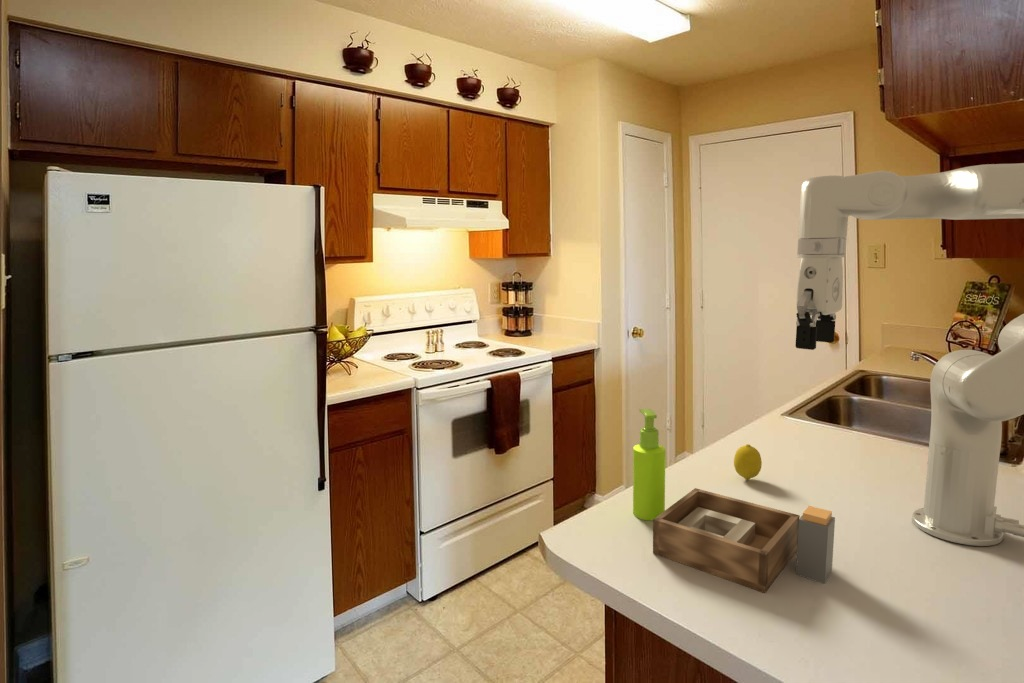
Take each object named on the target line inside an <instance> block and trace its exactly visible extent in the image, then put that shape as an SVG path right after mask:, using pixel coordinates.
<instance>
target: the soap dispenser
mask: <svg viewBox="0 0 1024 683" xmlns="http://www.w3.org/2000/svg"><path fill="white" fill-rule="evenodd" d="M639 413H642V415H643V416H644V426H643V427H642V428H641V429H639V431H640V432H639V444H635V445H634V446H633V450H632V456H633V457H632V463H633V464H632V465H633V466H632V474H633V475H632V489H633V490H632V513H633V515H634V516H635V517H636V518H637V519H639V520H643V521H651V522H652V521H653V519H654V518H656V517H657V516H658V515H660V514H661V513H662V512H664V511H665V510H666V447H664V446H663V445H660V444H659V436H660V434H659V433H660V432H659V429H658V428H656V427H655V419H657V417H658V416H657V414H656V413H655V411H654V410H653V409H651V408H649V409H648V408H644V409H642V408H641V409H639Z"/></svg>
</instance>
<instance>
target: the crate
mask: <svg viewBox="0 0 1024 683" xmlns="http://www.w3.org/2000/svg"><path fill="white" fill-rule="evenodd" d="M800 518H801V516H800V514H796V513H791V512H789V511H784V510H781V509H776V508H773V507H769V506H764V505H761V504H757V503H753V502H750V501H746V500H743V499H742V500H741V499H740V498H739V499H738V498H735V497H732V496H727V495H723V494H719V493H714V492H712V491H707V490H704V489H701V488H697V487H694V488H693V489H692V490H691V491H689V492H688V493H687V494H685V495H684V496H682V497H681V498H680V499H678V500H677V501H676V502H675V503H673V504H672V505H670V506H669V507H668V508H665V511H664V512H662V513H661V514H660V515H658V516H657V517H656V518H654V519H653V522H652V523H653V524H652V554H654V555H656V556H659V557H662V558H666V559H668V560H671V561H673V562H677V563H679V564H682V565H685V566H688V567H691V568H694V569H696V570H700V571H702V572H705V573H708V574H711V575H712V576H716V577H718V578H721V579H724V580H727V581H730V582H732V583H736V584H739V585H741V586H744V587H747V588H749V589H751V590H752V589H753V590H755V591H758V592H760V593H763V594H765V593H766V592H767V591H768V589H770V587H771V586H772V584H773V583H774V582H775V580H776V579H777V577H778V576H779V575H780V574H781V572H782V571H783V570H784V569H785V567H786V566H787V564H788V563H789V562H790V561H791V559H792V558H793V556H794V555H795V554H796V553H797V548H798V528H799V519H800Z"/></svg>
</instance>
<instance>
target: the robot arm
mask: <svg viewBox="0 0 1024 683" xmlns="http://www.w3.org/2000/svg"><path fill="white" fill-rule="evenodd" d="M799 200H800V201H799V219H798V237H797V254H796V258H797V259H798V258H800V263H799V264H800V265H799V272H798V279H797V288H796V289H797V290H796V310H797V313H796V314H795V315H796V325H795V326H796V330H795V331H796V333H795V345H794V346H795V348H796V349H802V350H809V351H814V350H816V349H817V342H819V343H833V342H835V334H836V331H835V330H836V318H837V314H836V313H838V312H840V311H841V310H842V308H843V286H844V285H843V282H844V280H843V279H844V275H843V273H844V269H843V258H846V254H847V253H846V252H847V250H846V249H847V238H848V237H847V236H848V226H849V224H848V222H849V217H850V216H851V217H853V218H855V219H858V220H865V221H866V220H867V221H871V220H872V221H875V220H876V221H877V220H911V219H913V220H915V219H916V220H917V219H918V220H919V219H923V220H924V219H929V220H930V219H937V220H954V221H957V220H959V221H960V220H962V221H963V220H966V221H967V220H997V219H998V220H999V219H1000V220H1001V219H1007V220H1009V219H1024V162H1021V163H1019V162H1018V163H996V164H995V163H991V164H989V163H987V164H978V165H970V166H964V167H960V168H955V169H951V170H946V171H941V172H934V173H928V174H927V173H926V174H918V175H899V174H898V173H896V172H893V171H889V170H888V171H887V170H878V171H877V170H876V171H871V172H866V173H861V174H854V175H847V176H844V175H820V176H814V177H809V178H807V179H805V180H804V181H803V183H802V184H801V188H800V199H799ZM997 344H998V348H999V350H1000V351H999V352H998V353H996V354H994V355H991V354H989V353H986V352H983V351H981V350H976V349H958V350H953V351H950V352H948V353H947V354H945V355H943V356H942V357H941V358H940V359H938V361H937V362H936V363H935V365H934V366H933V368H932V371H931V374H930V380H929V381H930V383H929V384H930V386H929V387H930V388H929V389H930V403H931V404H930V406H931V409H930V410H931V414H930V416H931V418H930V419H931V420H930V433H929V441H928V442H929V444H928V455H927V456H928V457H927V465H926V466H927V468H926V477H925V479H926V481H925V490H924V503H923V507H922V508H918V509H915V510H914V511H913V512H912V518H911V519H912V522H913V524H914V525H915V526H916V527H917V528H919V529H920V530H921V531H923V532H925V533H926V534H928V535H931V536H932V537H935V538H939V539H941V540H944V541H947V542H951V543H955V544H960V545H966V546H976V547H989V546H990V547H991V546H995V545H998V544H1000V543H1002V541H1003V540H1004V533H1007V534H1012V535H1013V536H1017V537H1021V538H1024V524H1020V520H1019V519H1016V518H1011V517H1010V518H1009V517H1003V516H1002V514H998V513H997V508H998V507H997V506H995V501H996V493H997V484H998V473H999V463H1000V456H1001V455H1000V454H1001V449H1002V448H1001V447H1002V436H1003V426H1002V422H1006V421H1009V420H1013V419H1015V418H1018V417H1019V416H1022V415H1024V313H1022V314H1020V315H1019V316H1017V317H1015V318H1013V319H1012V320H1010V321H1009V322H1008V323H1007V324H1006V325H1005V326H1003V328H1002V330H1000V333H999V335H998V338H997Z"/></svg>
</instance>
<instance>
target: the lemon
mask: <svg viewBox="0 0 1024 683" xmlns="http://www.w3.org/2000/svg"><path fill="white" fill-rule="evenodd" d="M762 464H763V462H762V457H761V454H760V452H759V451H758V449H757V448H756V447H754V446H752V445H751V444H749V443H748V444H745V445H742V446H740V447H739V448H738V449H737V450H736V452H735V453H734V457H733V466H734V470H735V471H736V473H737V474H738V475H739V476H740V477H742V478H743V479H744V480H745V481H749V480H750V479H753V478H755V477H757V476H758V475H759V474H760V472H761V470H762Z"/></svg>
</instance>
